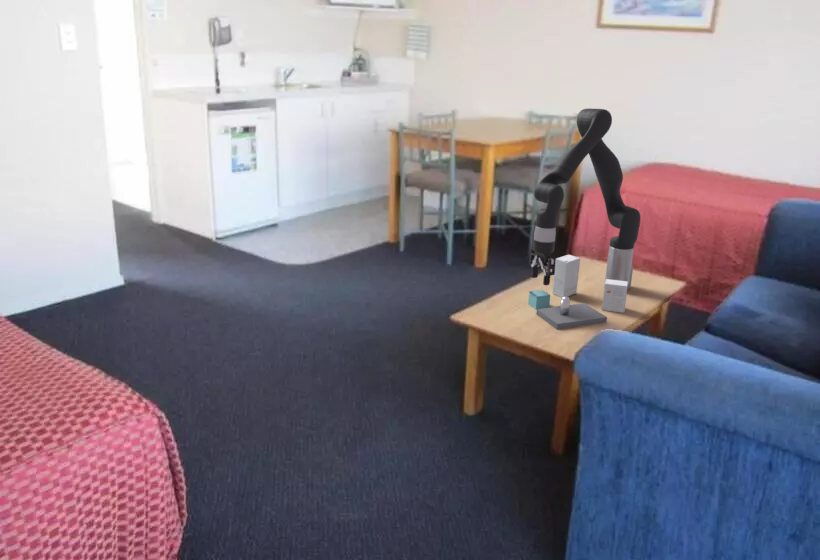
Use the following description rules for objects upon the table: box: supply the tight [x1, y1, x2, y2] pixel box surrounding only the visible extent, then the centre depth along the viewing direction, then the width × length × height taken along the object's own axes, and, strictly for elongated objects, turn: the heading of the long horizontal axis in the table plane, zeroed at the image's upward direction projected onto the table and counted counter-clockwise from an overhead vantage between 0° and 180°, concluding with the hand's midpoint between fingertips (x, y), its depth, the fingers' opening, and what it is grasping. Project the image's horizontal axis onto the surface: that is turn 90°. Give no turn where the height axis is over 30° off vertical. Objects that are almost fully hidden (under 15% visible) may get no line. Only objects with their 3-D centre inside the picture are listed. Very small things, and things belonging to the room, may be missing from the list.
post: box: [560, 296, 571, 315], centre depth 240 cm, size 3×3×6 cm
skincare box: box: [551, 254, 581, 298], centre depth 263 cm, size 8×6×15 cm
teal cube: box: [527, 289, 551, 310], centre depth 253 cm, size 6×6×5 cm
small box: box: [601, 279, 628, 314], centre depth 250 cm, size 8×6×10 cm
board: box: [535, 302, 608, 330], centre depth 242 cm, size 20×14×2 cm
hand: (540, 281), depth 250 cm, fingers open, 8 cm apart
